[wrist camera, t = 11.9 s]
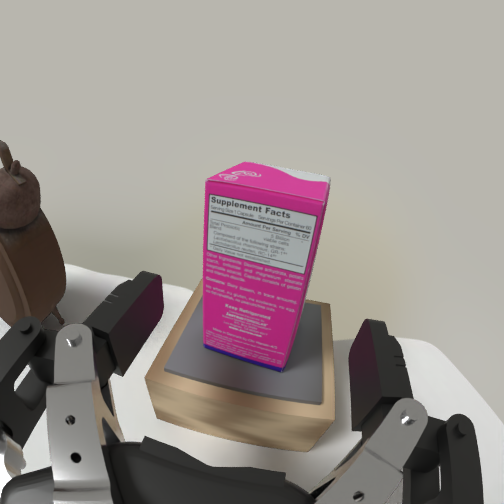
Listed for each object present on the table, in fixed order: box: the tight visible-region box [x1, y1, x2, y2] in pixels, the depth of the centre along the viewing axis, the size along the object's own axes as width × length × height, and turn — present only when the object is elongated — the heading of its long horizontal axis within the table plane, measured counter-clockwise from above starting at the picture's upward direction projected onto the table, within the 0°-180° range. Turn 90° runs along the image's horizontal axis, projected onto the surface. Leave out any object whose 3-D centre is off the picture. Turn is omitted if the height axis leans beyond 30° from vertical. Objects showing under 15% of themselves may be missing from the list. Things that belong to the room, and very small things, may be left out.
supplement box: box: [203, 162, 331, 372], centre depth 17 cm, size 6×6×12 cm
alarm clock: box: [0, 140, 66, 327], centre depth 19 cm, size 14×7×20 cm, turn 80°
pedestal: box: [145, 278, 335, 452], centre depth 21 cm, size 12×12×6 cm
